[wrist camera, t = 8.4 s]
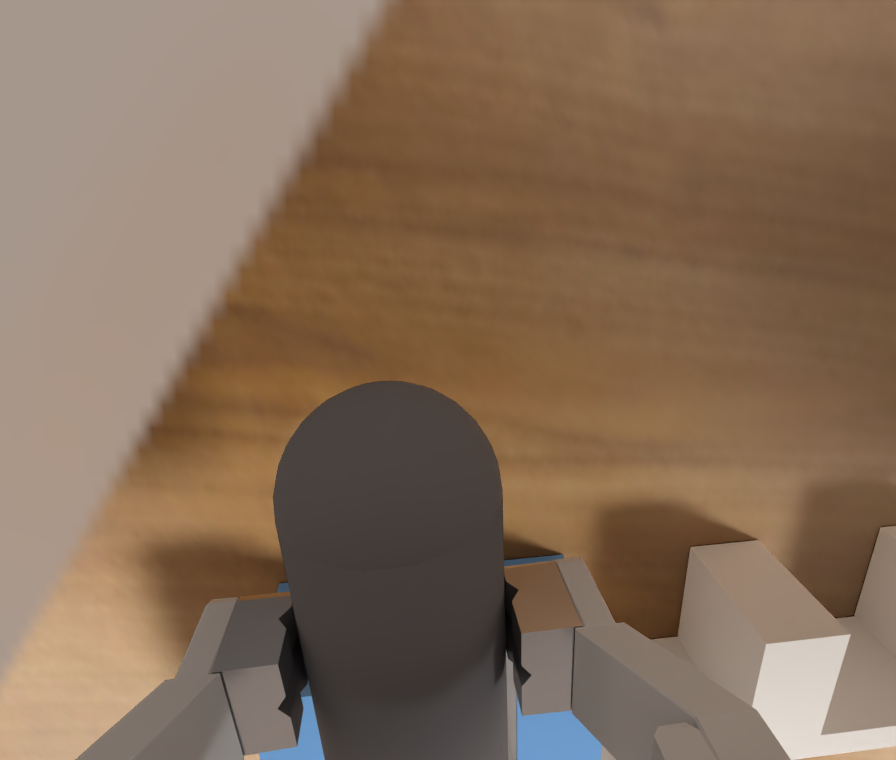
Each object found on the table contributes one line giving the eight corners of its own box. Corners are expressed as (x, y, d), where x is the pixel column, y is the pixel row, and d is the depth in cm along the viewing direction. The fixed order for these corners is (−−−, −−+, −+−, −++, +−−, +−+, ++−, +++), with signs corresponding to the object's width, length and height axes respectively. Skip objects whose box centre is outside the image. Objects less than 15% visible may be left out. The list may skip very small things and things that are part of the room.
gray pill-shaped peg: (479, 343, 10) (525, 432, 6) (495, 766, 14) (528, 951, 11) (279, 360, 10) (219, 462, 6) (356, 786, 14) (346, 983, 10)
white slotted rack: (947, 515, 23) (1090, 605, 19) (907, 628, 26) (1025, 735, 21) (279, 583, 21) (245, 703, 17) (303, 699, 24) (280, 833, 19)
